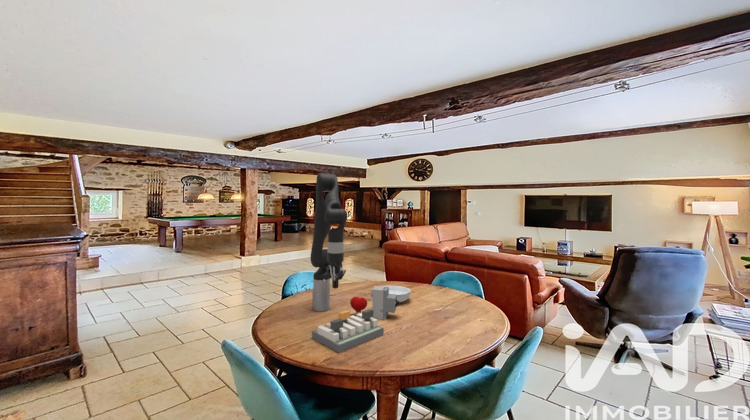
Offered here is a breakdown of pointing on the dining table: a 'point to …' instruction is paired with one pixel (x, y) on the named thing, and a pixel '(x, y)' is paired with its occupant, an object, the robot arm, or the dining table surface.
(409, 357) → the dining table surface
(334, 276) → the robot arm
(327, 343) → the breaker panel
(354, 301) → the red plush heart
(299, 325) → the dining table surface
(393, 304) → the circuit breaker
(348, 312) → the handle
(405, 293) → the serving bowl
